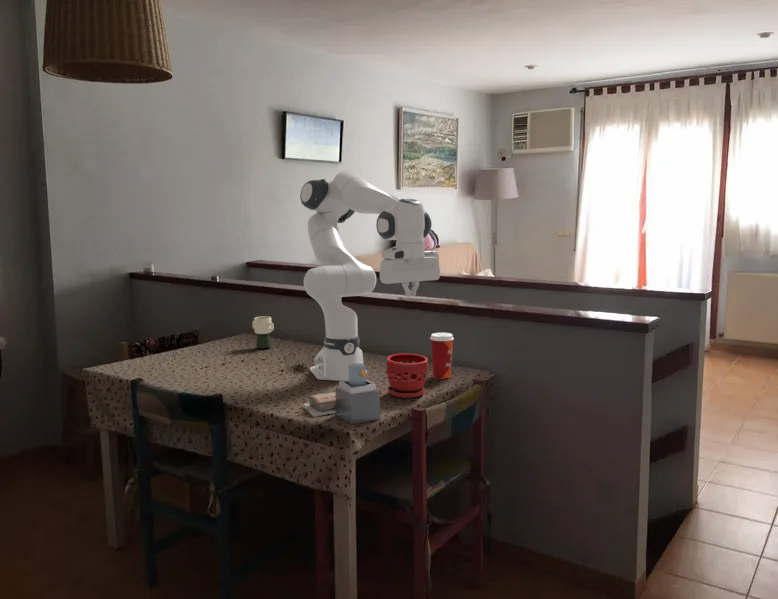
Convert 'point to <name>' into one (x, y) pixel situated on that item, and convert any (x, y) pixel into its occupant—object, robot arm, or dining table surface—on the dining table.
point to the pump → (357, 374)
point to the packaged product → (321, 404)
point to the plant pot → (406, 375)
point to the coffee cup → (441, 354)
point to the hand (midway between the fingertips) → (410, 296)
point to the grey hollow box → (358, 402)
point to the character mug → (263, 331)
